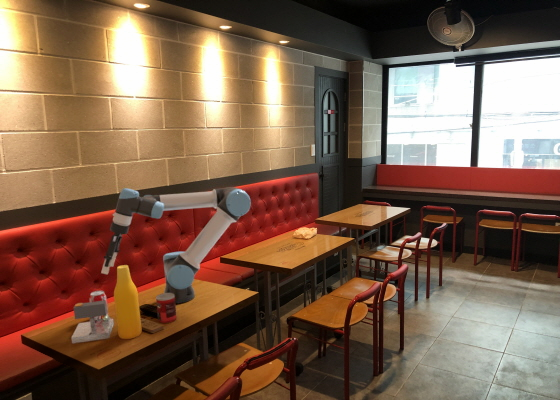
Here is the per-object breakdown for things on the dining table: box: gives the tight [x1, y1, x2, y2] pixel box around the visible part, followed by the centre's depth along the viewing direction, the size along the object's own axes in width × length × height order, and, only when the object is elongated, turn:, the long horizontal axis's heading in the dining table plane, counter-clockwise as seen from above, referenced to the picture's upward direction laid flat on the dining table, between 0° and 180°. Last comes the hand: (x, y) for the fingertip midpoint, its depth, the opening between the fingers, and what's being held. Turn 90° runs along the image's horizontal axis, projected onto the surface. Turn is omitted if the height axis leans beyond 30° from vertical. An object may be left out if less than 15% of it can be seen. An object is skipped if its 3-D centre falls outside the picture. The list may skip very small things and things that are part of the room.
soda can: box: [89, 290, 109, 321], centre depth 206 cm, size 7×7×12 cm
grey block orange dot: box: [73, 300, 108, 328], centre depth 190 cm, size 12×4×11 cm, turn 102°
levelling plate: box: [71, 313, 115, 344], centre depth 191 cm, size 14×14×5 cm
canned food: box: [155, 292, 178, 324], centre depth 201 cm, size 8×8×11 cm
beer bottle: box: [113, 264, 143, 340], centre depth 186 cm, size 9×9×29 cm
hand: (107, 269), depth 201 cm, fingers open, 13 cm apart
